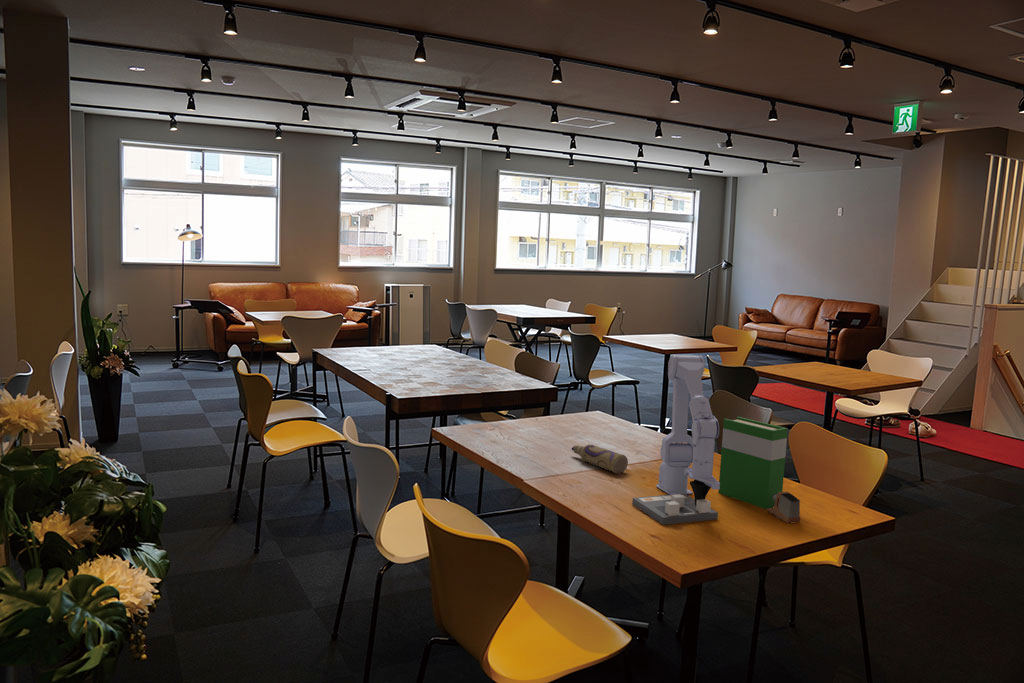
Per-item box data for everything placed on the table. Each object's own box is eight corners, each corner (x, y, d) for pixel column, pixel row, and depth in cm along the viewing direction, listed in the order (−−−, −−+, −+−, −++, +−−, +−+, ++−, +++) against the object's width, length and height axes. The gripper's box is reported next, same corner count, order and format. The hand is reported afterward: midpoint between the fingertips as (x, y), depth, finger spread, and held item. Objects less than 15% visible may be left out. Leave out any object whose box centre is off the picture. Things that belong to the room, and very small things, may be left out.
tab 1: (664, 512, 204) (665, 502, 204) (674, 511, 205) (674, 501, 205) (669, 515, 202) (670, 504, 202) (678, 514, 203) (679, 504, 203)
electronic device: (778, 511, 216) (781, 486, 215) (800, 523, 207) (803, 497, 206) (766, 512, 215) (768, 487, 214) (787, 524, 205) (790, 498, 204)
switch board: (632, 504, 216) (632, 497, 216) (684, 499, 223) (684, 493, 222) (662, 524, 201) (663, 517, 200) (717, 519, 207) (718, 511, 207)
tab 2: (696, 509, 207) (696, 499, 207) (704, 509, 208) (705, 499, 208) (701, 513, 205) (701, 502, 205) (710, 512, 206) (710, 501, 206)
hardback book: (718, 492, 231) (723, 418, 228) (732, 489, 235) (738, 416, 233) (766, 509, 217) (773, 431, 214) (781, 505, 221) (787, 428, 219)
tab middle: (670, 505, 211) (671, 494, 210) (679, 504, 212) (680, 494, 211) (675, 507, 208) (675, 497, 208) (684, 507, 209) (684, 496, 209)
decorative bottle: (629, 472, 249) (630, 454, 249) (612, 476, 245) (613, 456, 244) (581, 454, 271) (581, 436, 270) (565, 456, 266) (566, 439, 266)
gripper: (676, 453, 212) (673, 498, 214) (706, 468, 198) (702, 516, 200) (697, 452, 214) (693, 497, 216) (727, 466, 201) (723, 514, 203)
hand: (699, 506), depth 208 cm, fingers closed
